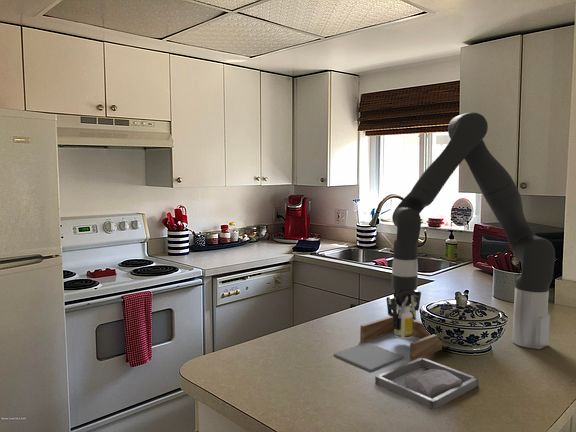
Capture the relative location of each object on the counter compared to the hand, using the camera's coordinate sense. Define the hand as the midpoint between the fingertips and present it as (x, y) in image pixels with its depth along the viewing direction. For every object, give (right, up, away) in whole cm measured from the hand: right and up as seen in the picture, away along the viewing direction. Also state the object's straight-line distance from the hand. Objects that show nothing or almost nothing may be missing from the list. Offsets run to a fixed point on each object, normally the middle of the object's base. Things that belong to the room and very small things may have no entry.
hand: (403, 326), depth 151 cm
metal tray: (0, -9, -27) cm, 28 cm away
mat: (-12, -6, -9) cm, 16 cm away
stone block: (0, -9, -28) cm, 30 cm away
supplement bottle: (0, -3, 0) cm, 3 cm away
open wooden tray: (0, -5, +1) cm, 5 cm away
